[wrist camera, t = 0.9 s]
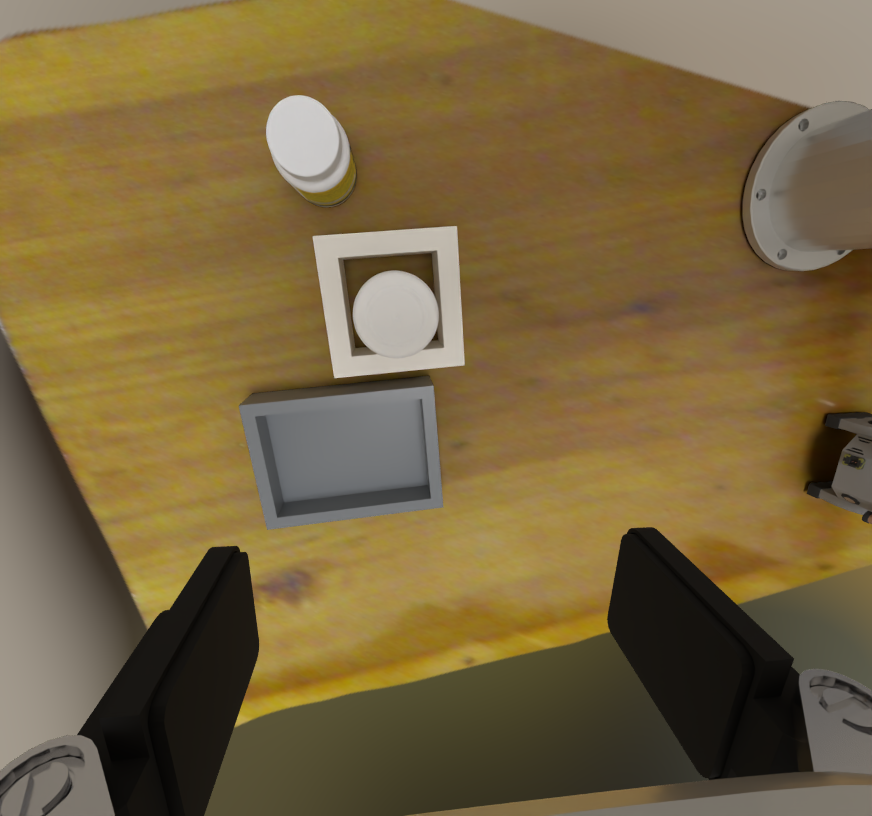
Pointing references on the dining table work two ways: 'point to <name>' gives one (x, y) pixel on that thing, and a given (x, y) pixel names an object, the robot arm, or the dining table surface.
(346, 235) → the frame
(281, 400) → the charcoal tray
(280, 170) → the supplement bottle
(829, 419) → the figurine
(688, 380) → the dining table surface
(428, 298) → the sprinkles bottle
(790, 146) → the robot arm
